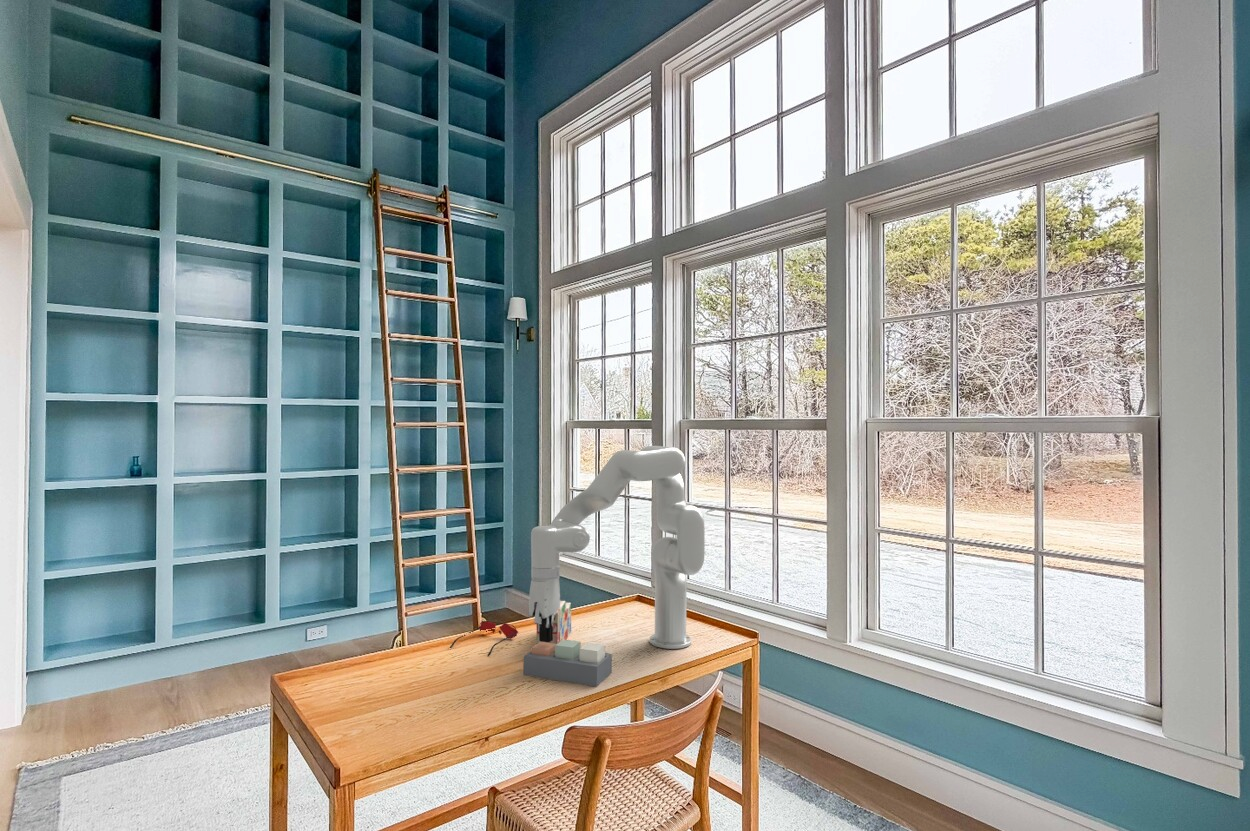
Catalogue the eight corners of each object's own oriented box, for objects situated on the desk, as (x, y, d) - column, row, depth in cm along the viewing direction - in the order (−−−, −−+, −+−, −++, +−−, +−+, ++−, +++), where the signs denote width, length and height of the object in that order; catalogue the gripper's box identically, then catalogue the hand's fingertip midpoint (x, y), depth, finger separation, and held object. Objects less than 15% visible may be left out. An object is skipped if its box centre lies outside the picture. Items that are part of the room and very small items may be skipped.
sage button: (563, 657, 178) (563, 639, 178) (580, 660, 177) (580, 641, 177) (555, 664, 174) (555, 645, 174) (572, 666, 172) (572, 647, 172)
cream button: (587, 661, 176) (587, 642, 176) (604, 664, 174) (604, 644, 174) (579, 667, 171) (579, 648, 171) (597, 670, 170) (597, 651, 170)
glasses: (519, 640, 203) (519, 624, 203) (488, 658, 188) (488, 640, 188) (480, 634, 208) (480, 618, 208) (447, 651, 193) (447, 634, 193)
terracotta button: (540, 660, 181) (540, 641, 181) (556, 662, 179) (556, 644, 179) (531, 666, 176) (531, 647, 176) (548, 669, 174) (548, 650, 174)
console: (541, 662, 184) (541, 643, 184) (611, 672, 176) (611, 653, 176) (523, 674, 174) (523, 655, 174) (596, 686, 167) (597, 666, 167)
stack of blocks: (552, 631, 211) (552, 592, 211) (571, 631, 211) (571, 592, 211) (536, 654, 190) (536, 611, 190) (557, 655, 189) (557, 612, 189)
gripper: (545, 565, 186) (546, 630, 186) (519, 578, 172) (519, 648, 172) (570, 567, 184) (570, 633, 184) (545, 580, 170) (545, 652, 170)
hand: (546, 640), depth 178 cm, fingers closed
